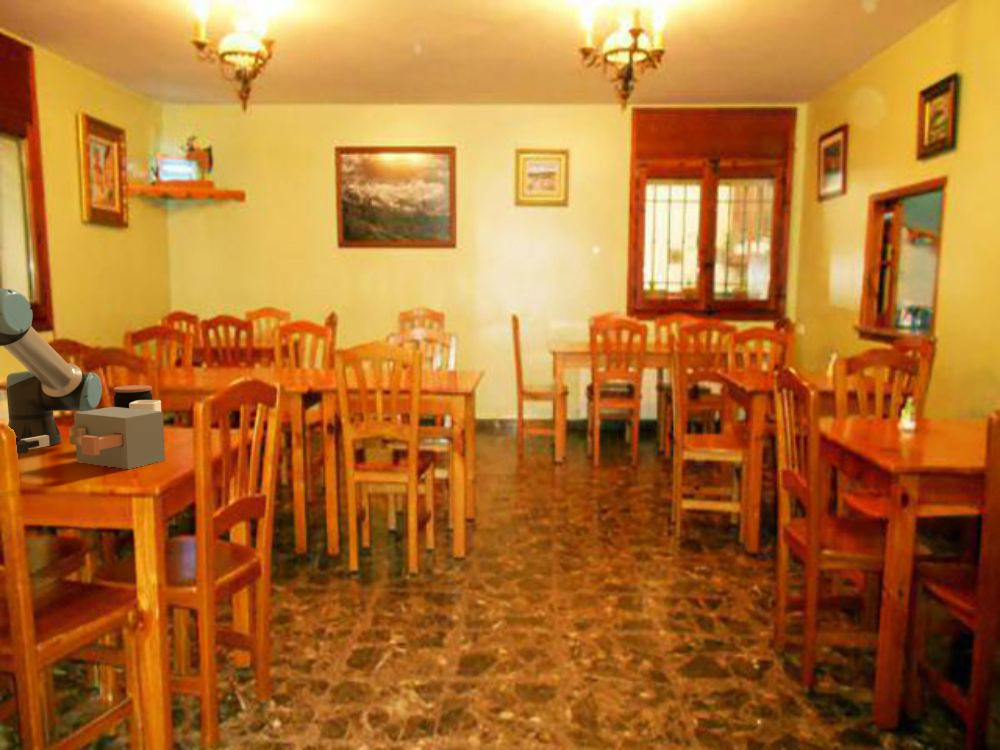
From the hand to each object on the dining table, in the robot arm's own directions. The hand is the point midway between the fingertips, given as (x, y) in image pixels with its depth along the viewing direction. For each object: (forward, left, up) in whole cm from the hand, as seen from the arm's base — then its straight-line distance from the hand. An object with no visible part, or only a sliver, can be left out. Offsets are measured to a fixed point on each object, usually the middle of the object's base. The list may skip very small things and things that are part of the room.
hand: (47, 440), depth 192 cm
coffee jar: (-9, +34, -9) cm, 36 cm away
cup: (+2, +29, -9) cm, 30 cm away
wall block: (+7, +16, -8) cm, 19 cm away
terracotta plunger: (+14, +7, -3) cm, 16 cm away
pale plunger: (0, +14, -3) cm, 14 cm away
